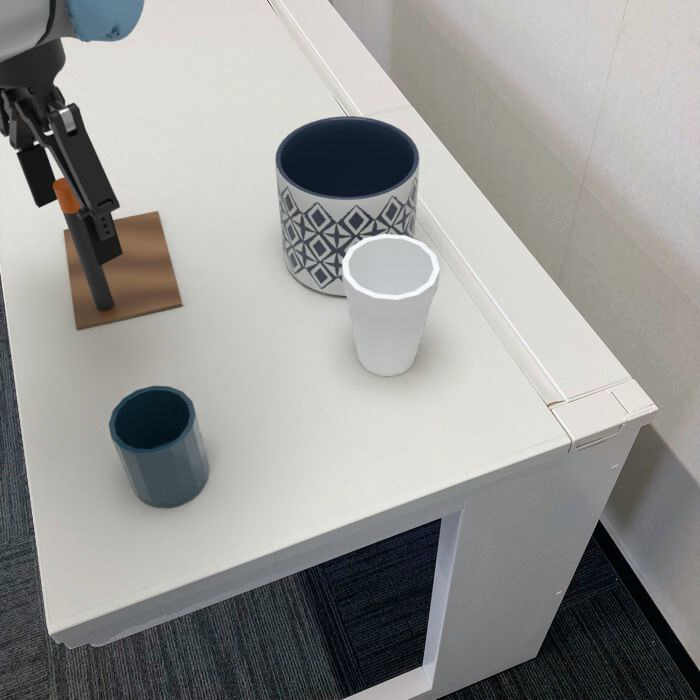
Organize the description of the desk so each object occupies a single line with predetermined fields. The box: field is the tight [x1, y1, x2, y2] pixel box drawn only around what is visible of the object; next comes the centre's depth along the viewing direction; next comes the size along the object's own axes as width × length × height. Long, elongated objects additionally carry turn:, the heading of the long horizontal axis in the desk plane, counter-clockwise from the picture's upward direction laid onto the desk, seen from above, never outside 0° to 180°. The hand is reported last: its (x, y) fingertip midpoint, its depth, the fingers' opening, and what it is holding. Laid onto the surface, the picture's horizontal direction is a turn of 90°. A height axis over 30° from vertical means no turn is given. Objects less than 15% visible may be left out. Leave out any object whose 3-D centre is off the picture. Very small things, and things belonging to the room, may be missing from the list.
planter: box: [274, 115, 420, 297], centre depth 90 cm, size 16×16×14 cm
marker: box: [53, 177, 114, 311], centre depth 82 cm, size 2×2×17 cm
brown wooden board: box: [63, 210, 184, 331], centre depth 94 cm, size 18×12×1 cm, turn 18°
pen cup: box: [108, 385, 210, 509], centre depth 71 cm, size 7×7×9 cm
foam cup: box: [342, 234, 441, 377], centre depth 79 cm, size 10×9×13 cm
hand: (78, 228), depth 80 cm, fingers open, 12 cm apart
